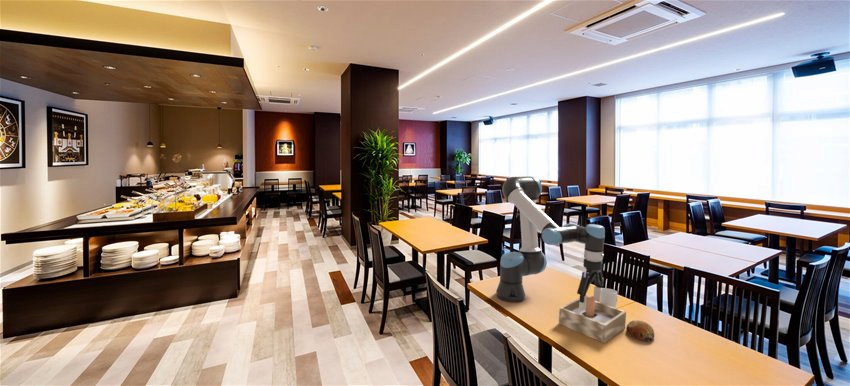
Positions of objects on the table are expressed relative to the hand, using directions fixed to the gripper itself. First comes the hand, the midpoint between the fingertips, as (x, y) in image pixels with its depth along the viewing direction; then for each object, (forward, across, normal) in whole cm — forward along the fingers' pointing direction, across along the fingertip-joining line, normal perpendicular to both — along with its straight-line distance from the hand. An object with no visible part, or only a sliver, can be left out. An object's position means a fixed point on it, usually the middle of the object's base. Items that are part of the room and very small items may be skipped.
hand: (589, 304), depth 151 cm
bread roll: (+9, +6, -19) cm, 22 cm away
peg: (+8, 0, 0) cm, 8 cm away
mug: (+9, +16, -2) cm, 18 cm away
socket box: (+8, -2, -2) cm, 9 cm away
